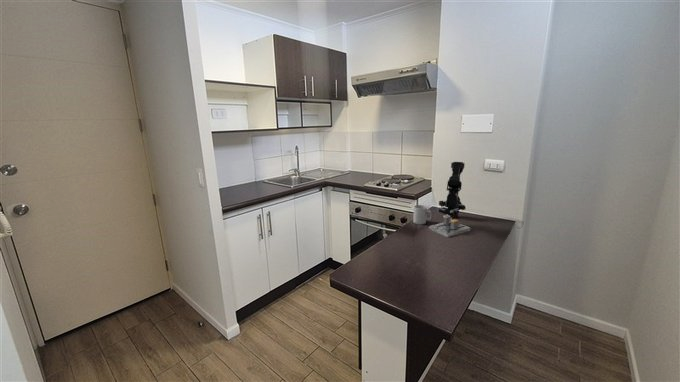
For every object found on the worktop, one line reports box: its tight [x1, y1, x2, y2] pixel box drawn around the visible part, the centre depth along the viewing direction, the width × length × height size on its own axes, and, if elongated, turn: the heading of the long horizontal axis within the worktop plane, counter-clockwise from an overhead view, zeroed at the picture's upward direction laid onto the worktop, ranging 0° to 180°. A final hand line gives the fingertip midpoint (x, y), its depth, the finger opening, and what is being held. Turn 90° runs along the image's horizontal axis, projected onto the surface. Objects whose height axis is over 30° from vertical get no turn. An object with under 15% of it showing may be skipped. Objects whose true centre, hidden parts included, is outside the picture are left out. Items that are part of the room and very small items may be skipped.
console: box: [428, 221, 471, 238], centre depth 176 cm, size 20×15×3 cm
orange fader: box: [451, 218, 459, 229], centre depth 171 cm, size 3×2×5 cm
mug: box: [412, 204, 433, 225], centre depth 188 cm, size 12×8×11 cm
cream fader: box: [442, 214, 450, 225], centre depth 179 cm, size 3×2×5 cm
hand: (451, 221), depth 181 cm, fingers closed
